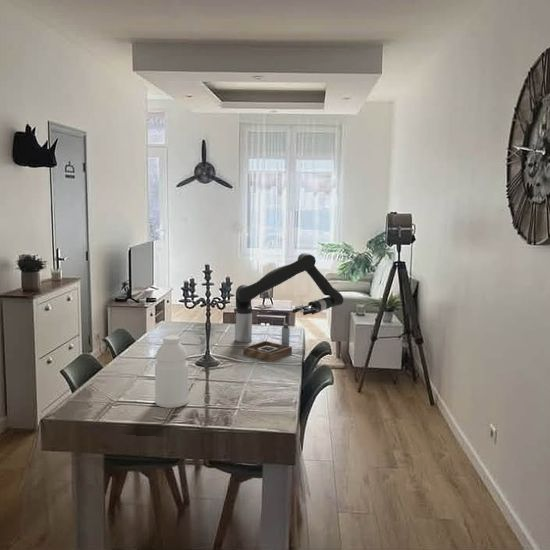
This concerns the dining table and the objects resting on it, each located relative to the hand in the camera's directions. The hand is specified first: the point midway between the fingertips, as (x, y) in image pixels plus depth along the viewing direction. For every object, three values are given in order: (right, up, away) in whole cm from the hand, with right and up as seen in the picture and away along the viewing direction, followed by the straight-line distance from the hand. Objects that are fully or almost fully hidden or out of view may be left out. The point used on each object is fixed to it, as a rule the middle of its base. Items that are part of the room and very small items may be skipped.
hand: (298, 312), depth 314 cm
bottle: (-57, -32, -86) cm, 108 cm away
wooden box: (-18, -22, -15) cm, 32 cm away
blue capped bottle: (-8, -20, -3) cm, 22 cm away
